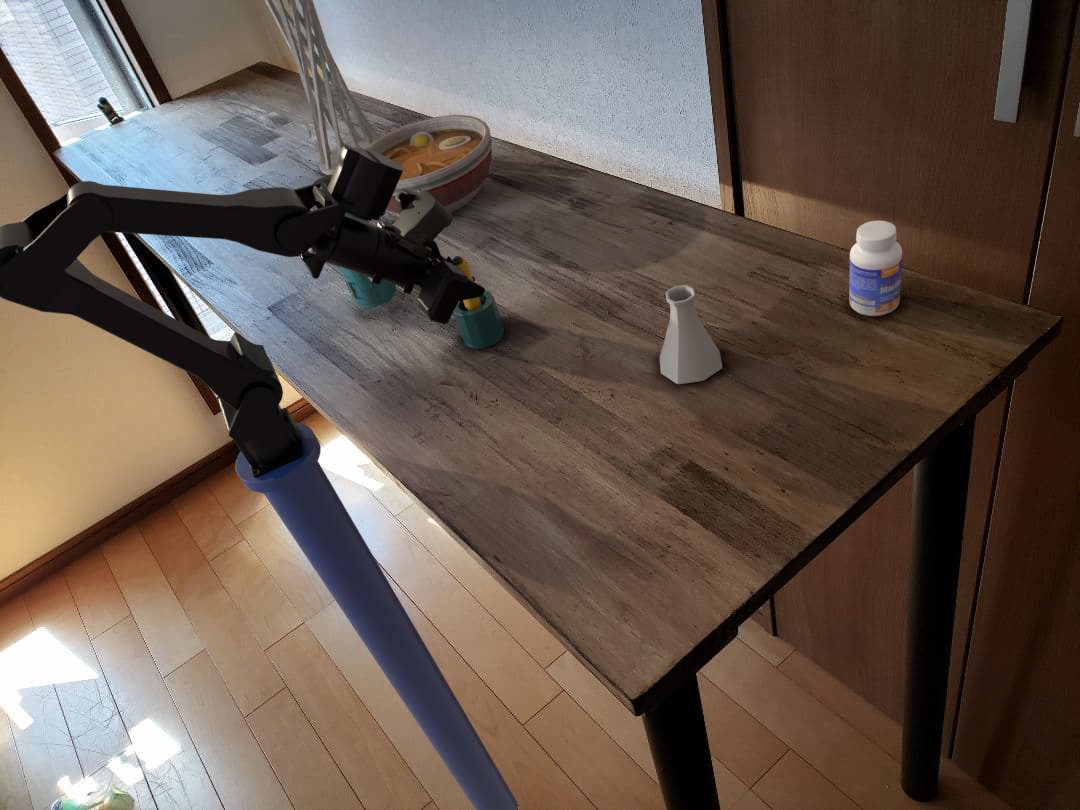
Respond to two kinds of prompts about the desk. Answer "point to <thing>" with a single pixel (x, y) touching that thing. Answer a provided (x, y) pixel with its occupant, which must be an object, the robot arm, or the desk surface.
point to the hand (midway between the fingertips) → (478, 287)
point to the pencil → (462, 264)
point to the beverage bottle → (364, 279)
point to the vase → (321, 81)
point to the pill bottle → (875, 269)
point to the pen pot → (479, 323)
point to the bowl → (440, 158)
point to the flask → (687, 341)
